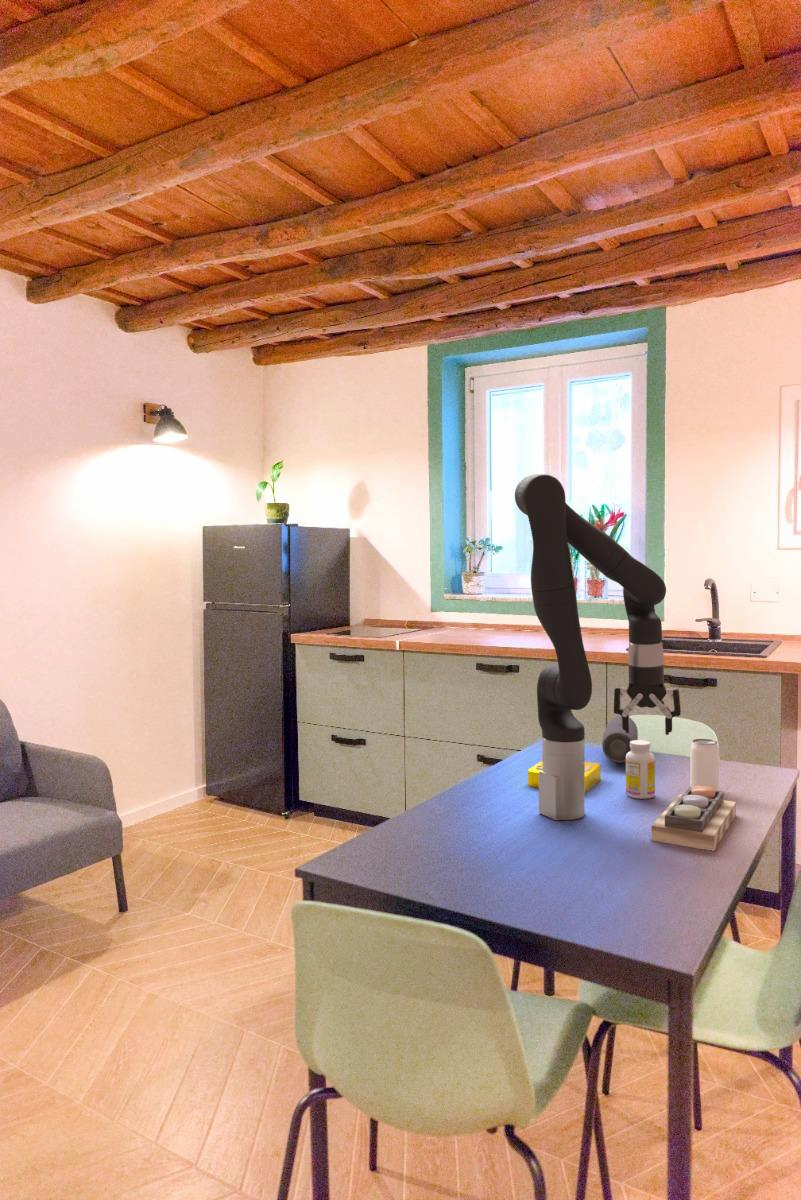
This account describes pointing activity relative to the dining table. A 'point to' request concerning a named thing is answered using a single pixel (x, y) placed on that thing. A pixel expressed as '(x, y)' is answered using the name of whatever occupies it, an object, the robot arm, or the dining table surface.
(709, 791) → the button terracotta
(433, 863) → the dining table surface
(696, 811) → the button sage
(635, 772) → the supplement bottle
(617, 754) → the bluetooth speaker
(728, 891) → the dining table surface
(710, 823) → the button panel
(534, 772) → the element tile
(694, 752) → the can
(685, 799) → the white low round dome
